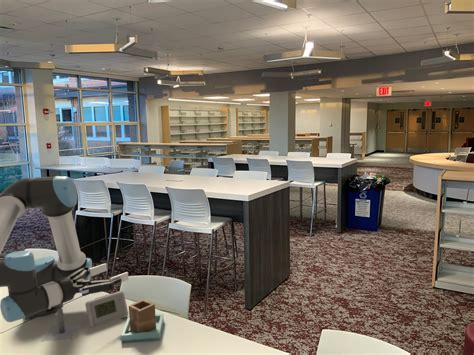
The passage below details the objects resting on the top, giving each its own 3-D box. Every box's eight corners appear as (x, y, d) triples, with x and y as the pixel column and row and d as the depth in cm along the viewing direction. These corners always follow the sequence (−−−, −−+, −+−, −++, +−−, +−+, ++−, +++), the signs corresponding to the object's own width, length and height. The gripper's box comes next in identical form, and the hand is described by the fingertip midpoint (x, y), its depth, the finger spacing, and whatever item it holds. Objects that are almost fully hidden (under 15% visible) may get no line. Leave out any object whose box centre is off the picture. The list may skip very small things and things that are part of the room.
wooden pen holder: (130, 330, 147) (128, 305, 145) (145, 322, 152) (143, 299, 151) (141, 336, 142) (139, 311, 141) (156, 328, 148) (154, 304, 146)
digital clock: (88, 331, 148) (86, 306, 147) (85, 321, 156) (83, 297, 155) (130, 320, 156) (128, 296, 155) (125, 311, 164) (124, 288, 162)
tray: (128, 323, 154) (128, 316, 153) (163, 321, 155) (163, 314, 155) (121, 343, 140) (120, 335, 140) (159, 340, 141) (159, 332, 141)
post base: (53, 329, 151) (50, 304, 149) (81, 327, 152) (79, 302, 150) (41, 344, 140) (38, 318, 138) (72, 342, 141) (69, 316, 139)
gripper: (41, 292, 129) (98, 272, 145) (78, 315, 113) (138, 290, 129) (39, 271, 127) (97, 254, 143) (76, 291, 112) (136, 269, 128)
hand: (116, 271), depth 136 cm, fingers open, 13 cm apart
